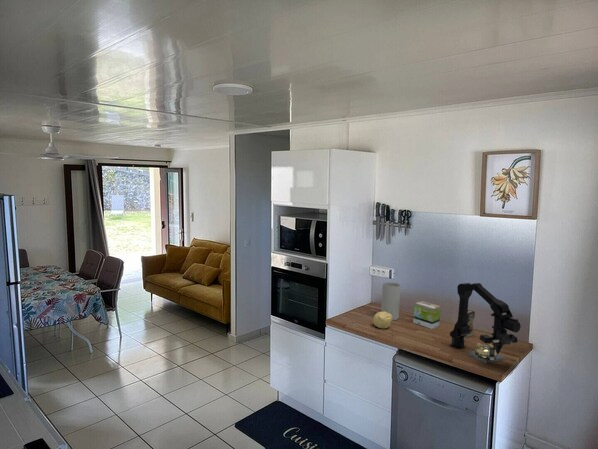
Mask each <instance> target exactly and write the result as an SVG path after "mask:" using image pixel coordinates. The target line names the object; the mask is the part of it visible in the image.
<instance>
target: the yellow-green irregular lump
mask: <svg viewBox="0 0 598 449" xmlns="http://www.w3.org/2000/svg"><path fill="white" fill-rule="evenodd" d="M474 351H475V353H476V354H477V355H478V356H480V357H484V358H489V359H490V360H494V358H496V355H497V353H496V350H495V348H494V346H493V344H491V343H488V345H487V344H482V343H481V342H480V343H479V342H478V343H476V346H475V349H474Z"/></svg>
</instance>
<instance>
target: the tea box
mask: <svg viewBox="0 0 598 449" xmlns="http://www.w3.org/2000/svg"><path fill="white" fill-rule="evenodd" d="M440 321H441V305H437V304H435V303H430V302H427V301H424V300H420V301H417V302H415V303H414V306H413V321H412V322H413V324H417V325H418V326H422V327H425V328H428V329H430V330H434V329H435V328H438V327H439V326H440Z"/></svg>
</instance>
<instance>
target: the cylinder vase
mask: <svg viewBox="0 0 598 449" xmlns="http://www.w3.org/2000/svg"><path fill="white" fill-rule="evenodd" d="M381 292H382V293H381V309H380V310H381V311H380V312H384V311H385V312H387V313H390V314H391V315H392V322H393V321H397V320H399V319H400V318H399V315H400V301H401V300H400V299H401V297H400V296H401V284H399V283H397V282H390V281H388V282H383V283H382V290H381Z"/></svg>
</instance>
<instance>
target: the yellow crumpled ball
mask: <svg viewBox="0 0 598 449" xmlns="http://www.w3.org/2000/svg"><path fill="white" fill-rule="evenodd" d="M392 322H393V321H392V315H391V314H390V313H387V312H385V311H384V312H381V311H377V312H376V313H375V314H374V316H373V325H374V327H375V326H376V327H377V328H379V329H388V328H389V327H390V325H391V323H392Z"/></svg>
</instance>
